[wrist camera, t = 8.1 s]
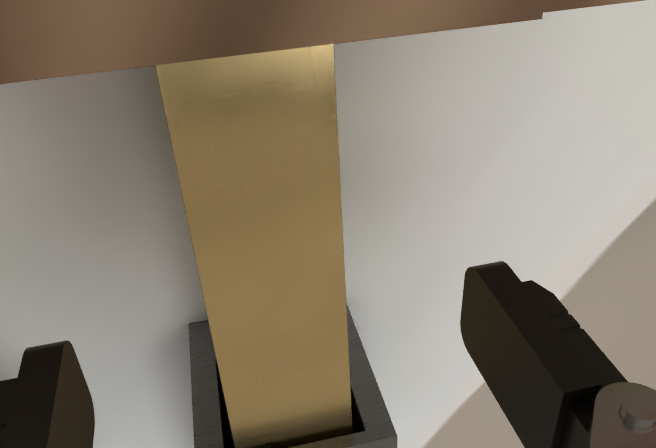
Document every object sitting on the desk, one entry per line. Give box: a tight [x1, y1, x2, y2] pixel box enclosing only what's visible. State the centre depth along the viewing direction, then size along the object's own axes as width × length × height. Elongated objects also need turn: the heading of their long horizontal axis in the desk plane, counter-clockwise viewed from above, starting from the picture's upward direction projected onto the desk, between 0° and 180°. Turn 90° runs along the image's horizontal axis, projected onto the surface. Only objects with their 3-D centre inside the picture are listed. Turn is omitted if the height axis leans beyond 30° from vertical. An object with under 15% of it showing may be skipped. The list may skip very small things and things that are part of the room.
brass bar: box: [155, 44, 353, 448], centre depth 20 cm, size 4×21×4 cm, turn 4°
